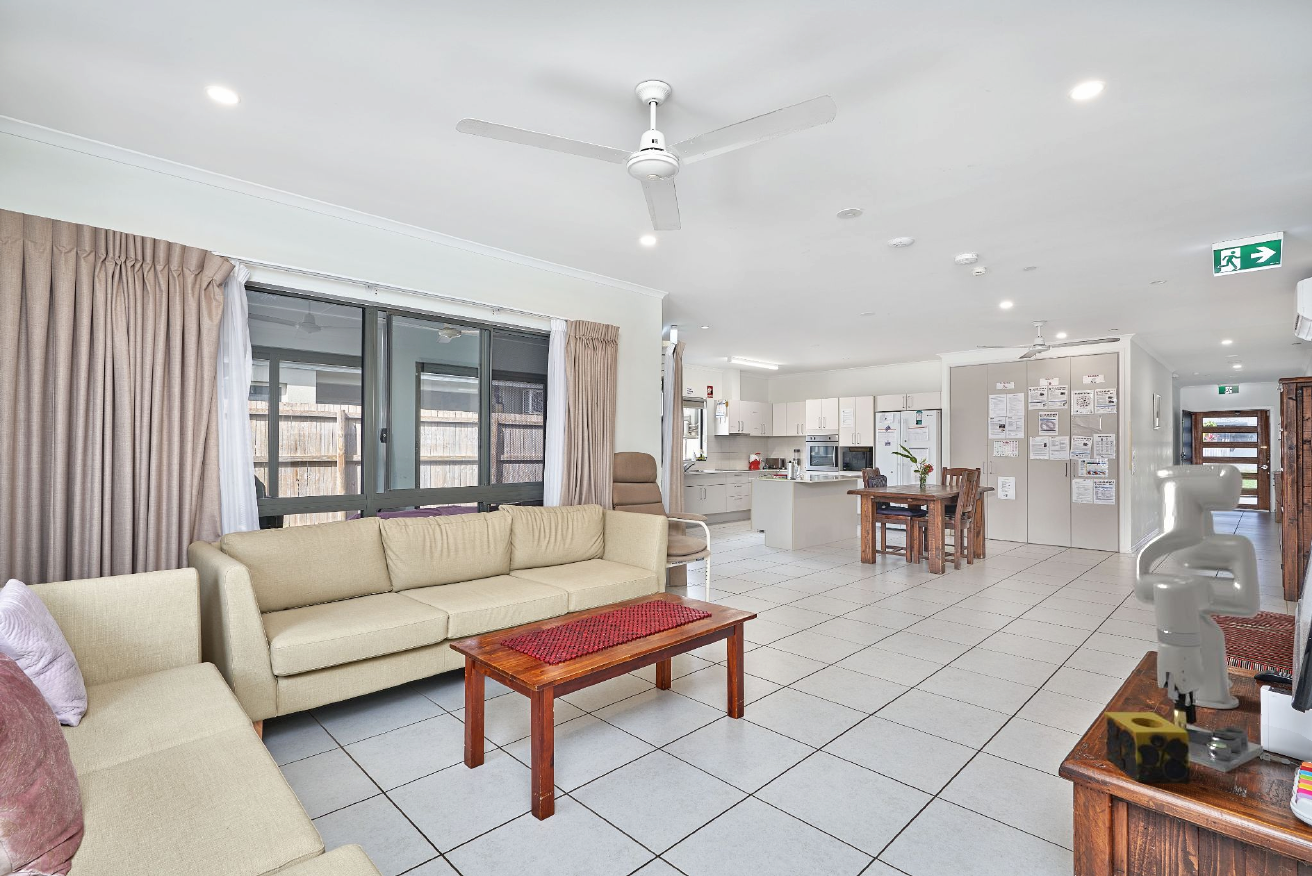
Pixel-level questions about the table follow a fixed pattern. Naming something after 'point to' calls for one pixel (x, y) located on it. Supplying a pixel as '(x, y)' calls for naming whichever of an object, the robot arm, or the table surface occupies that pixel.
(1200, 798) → the table surface
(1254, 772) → the table surface
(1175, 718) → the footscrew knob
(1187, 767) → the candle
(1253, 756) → the plate
